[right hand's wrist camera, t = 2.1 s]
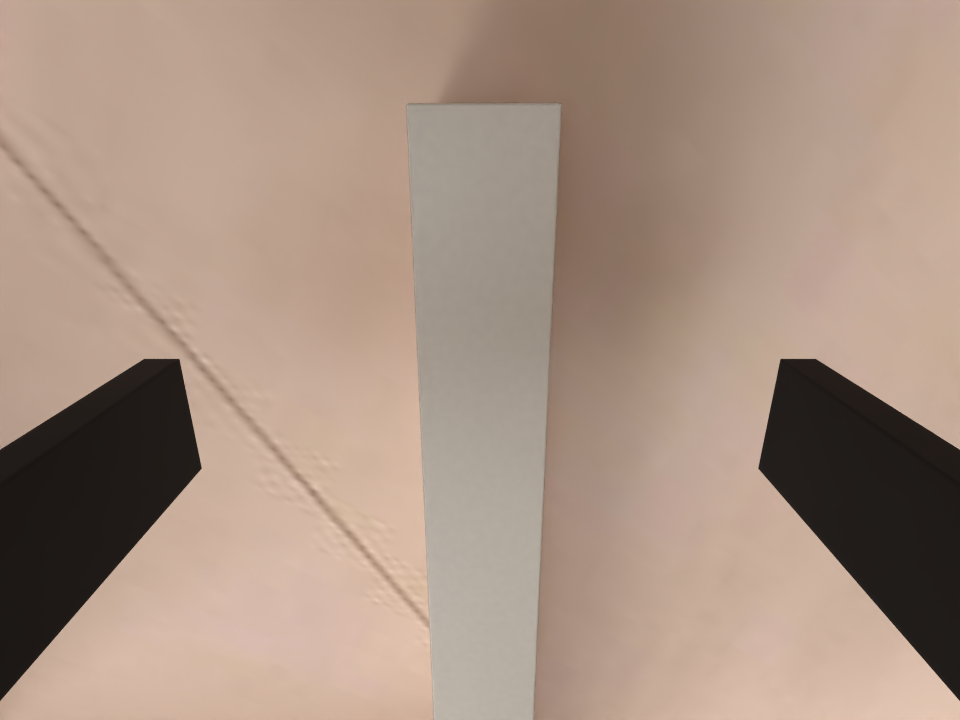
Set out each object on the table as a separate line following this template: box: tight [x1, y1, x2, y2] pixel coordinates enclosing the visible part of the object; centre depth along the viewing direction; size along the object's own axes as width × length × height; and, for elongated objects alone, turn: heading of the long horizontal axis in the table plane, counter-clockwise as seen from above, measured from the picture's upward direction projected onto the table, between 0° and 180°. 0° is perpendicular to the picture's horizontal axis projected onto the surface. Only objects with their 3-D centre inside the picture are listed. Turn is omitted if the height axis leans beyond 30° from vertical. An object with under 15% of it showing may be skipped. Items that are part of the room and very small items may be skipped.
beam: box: [406, 103, 562, 720], centre depth 29 cm, size 54×4×8 cm, turn 0°
